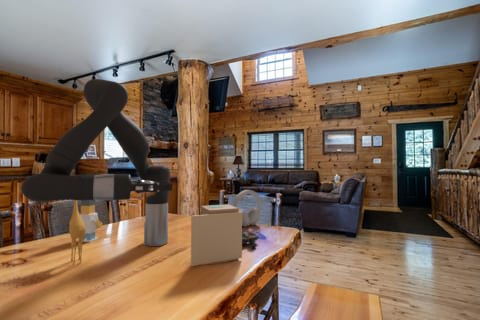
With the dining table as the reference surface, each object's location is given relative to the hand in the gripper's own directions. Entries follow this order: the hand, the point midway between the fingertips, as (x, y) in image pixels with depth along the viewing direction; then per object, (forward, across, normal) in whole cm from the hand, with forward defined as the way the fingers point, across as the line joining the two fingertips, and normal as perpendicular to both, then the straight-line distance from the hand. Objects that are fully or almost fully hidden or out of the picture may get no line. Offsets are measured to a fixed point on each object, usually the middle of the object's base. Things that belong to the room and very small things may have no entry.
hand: (169, 185), depth 81 cm
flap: (+16, 0, +26) cm, 31 cm away
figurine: (+34, +24, +27) cm, 50 cm away
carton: (+19, +6, +27) cm, 33 cm away
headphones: (+50, +45, +26) cm, 73 cm away
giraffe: (-28, +24, +27) cm, 46 cm away
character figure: (-26, +50, +27) cm, 62 cm away
